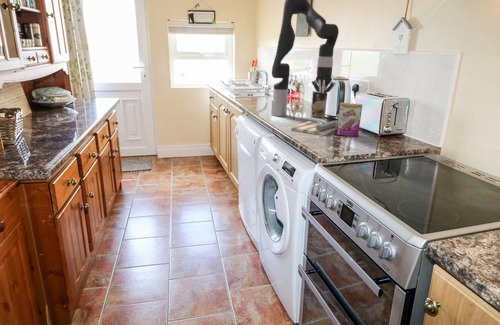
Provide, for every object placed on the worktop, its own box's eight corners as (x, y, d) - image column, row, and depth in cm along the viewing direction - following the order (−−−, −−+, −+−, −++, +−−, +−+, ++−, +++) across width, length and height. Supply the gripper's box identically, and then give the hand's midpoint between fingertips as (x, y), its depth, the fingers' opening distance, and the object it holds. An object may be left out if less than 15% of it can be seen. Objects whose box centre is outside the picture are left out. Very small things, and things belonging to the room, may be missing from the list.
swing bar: (321, 130, 177) (322, 126, 177) (315, 129, 179) (316, 125, 179) (338, 125, 191) (338, 121, 190) (332, 124, 193) (332, 120, 192)
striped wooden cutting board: (291, 130, 187) (291, 126, 186) (310, 122, 206) (310, 119, 206) (324, 135, 177) (325, 132, 176) (341, 127, 196) (341, 124, 196)
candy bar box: (335, 135, 178) (339, 103, 173) (336, 133, 182) (340, 102, 177) (358, 137, 175) (362, 105, 169) (358, 135, 179) (362, 103, 174)
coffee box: (310, 117, 223) (312, 92, 218) (310, 115, 229) (312, 91, 224) (325, 117, 222) (327, 92, 217) (324, 116, 228) (326, 91, 223)
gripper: (309, 65, 175) (307, 99, 181) (333, 66, 167) (330, 102, 173) (317, 65, 181) (314, 98, 187) (340, 66, 173) (336, 100, 179)
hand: (321, 100), depth 180 cm, fingers closed
